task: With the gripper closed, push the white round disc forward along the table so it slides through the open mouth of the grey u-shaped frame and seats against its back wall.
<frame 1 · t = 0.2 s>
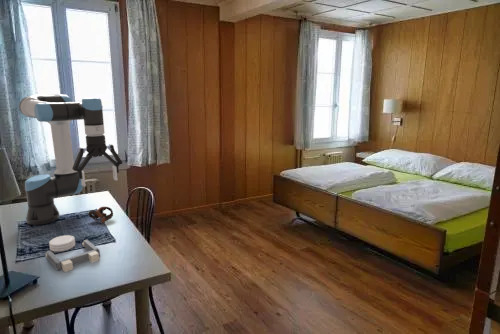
hand: (100, 183, 148), 27 cm above the table, fingers open, 13 cm apart
white round disc: (63, 247, 148), on the table
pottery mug: (101, 220, 178), on the table
grey u-shaped frame: (73, 256, 139), on the table
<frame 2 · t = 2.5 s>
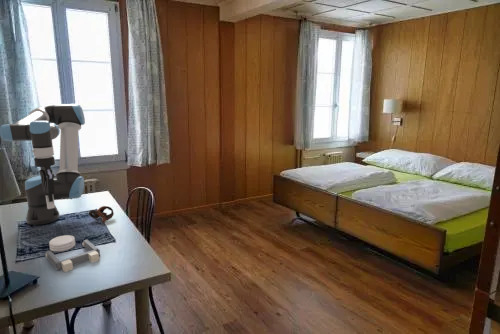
hand: (51, 207, 151), 15 cm above the table, fingers closed
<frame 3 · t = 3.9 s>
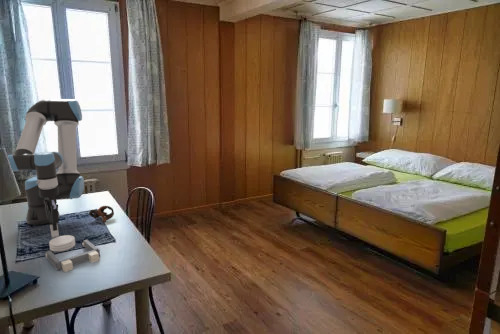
hand: (55, 236, 155), 2 cm above the table, fingers closed
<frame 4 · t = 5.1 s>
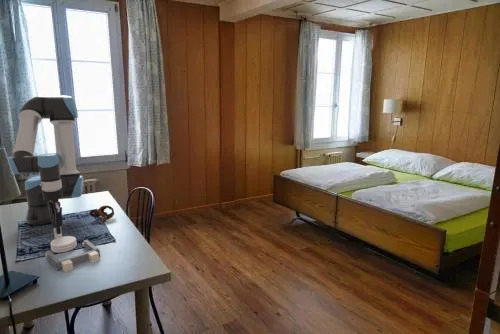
hand: (58, 239, 150), 2 cm above the table, fingers closed
white round disc: (64, 248, 147), on the table, touching gripper
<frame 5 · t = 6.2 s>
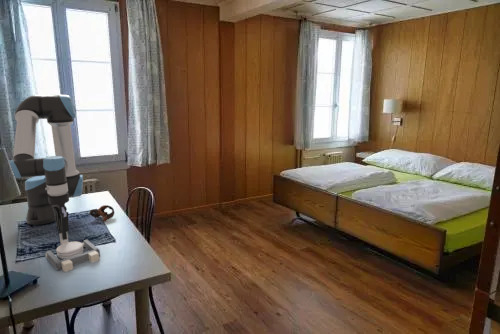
hand: (64, 245, 145), 2 cm above the table, fingers closed
white round disc: (70, 254, 142), on the table
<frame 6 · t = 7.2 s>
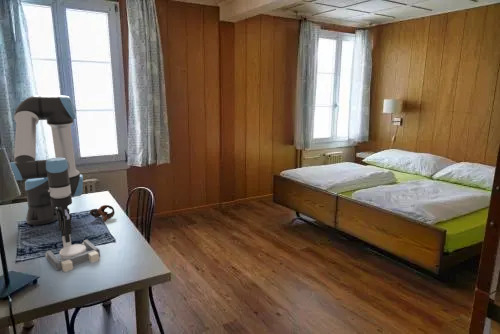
hand: (67, 248, 143), 2 cm above the table, fingers closed
white round disc: (73, 257, 140), on the table, touching gripper
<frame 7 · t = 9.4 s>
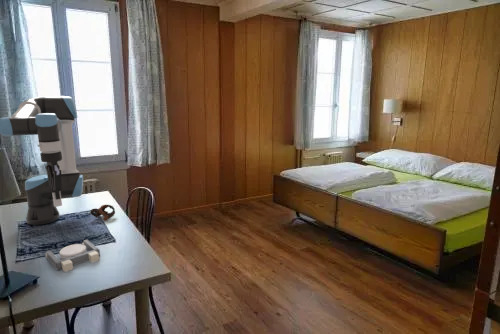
hand: (58, 205, 143), 19 cm above the table, fingers closed
white round disc: (73, 257, 140), on the table
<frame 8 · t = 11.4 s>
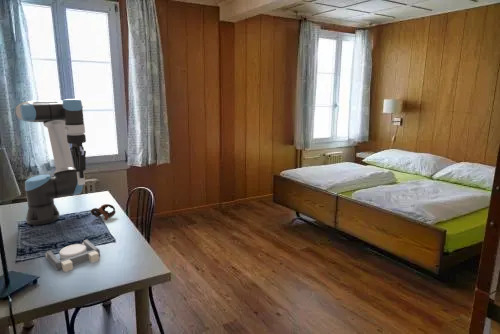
hand: (81, 184, 156), 24 cm above the table, fingers closed
at the end: white round disc inside the target area on the grey u-shaped frame (1.3 cm from its centre), point -0.5 cm above the grey u-shaped frame's base; white round disc moved 12.7 cm from its start; the gripper is holding nothing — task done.
